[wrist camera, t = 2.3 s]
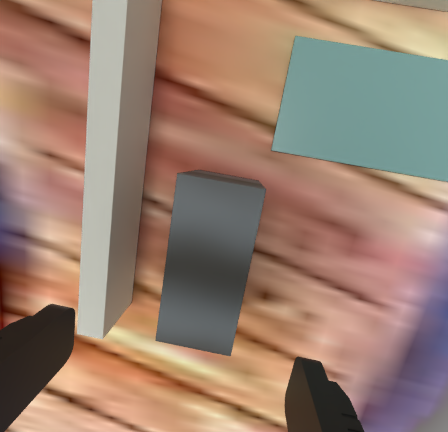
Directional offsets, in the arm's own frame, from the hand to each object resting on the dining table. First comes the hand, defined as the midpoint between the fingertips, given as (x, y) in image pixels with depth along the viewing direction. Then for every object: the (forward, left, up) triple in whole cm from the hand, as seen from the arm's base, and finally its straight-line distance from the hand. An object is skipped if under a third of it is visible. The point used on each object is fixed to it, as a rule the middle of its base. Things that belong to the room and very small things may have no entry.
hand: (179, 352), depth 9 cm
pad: (-12, +10, -13) cm, 21 cm away
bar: (0, 0, -13) cm, 13 cm away
